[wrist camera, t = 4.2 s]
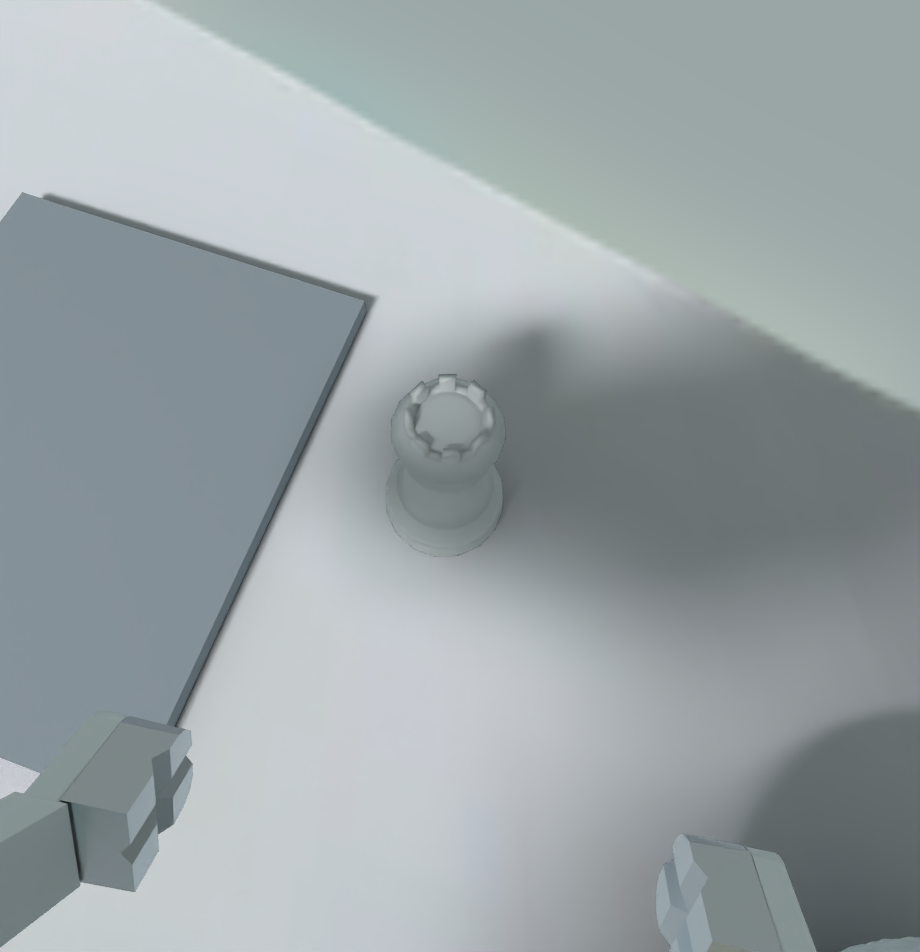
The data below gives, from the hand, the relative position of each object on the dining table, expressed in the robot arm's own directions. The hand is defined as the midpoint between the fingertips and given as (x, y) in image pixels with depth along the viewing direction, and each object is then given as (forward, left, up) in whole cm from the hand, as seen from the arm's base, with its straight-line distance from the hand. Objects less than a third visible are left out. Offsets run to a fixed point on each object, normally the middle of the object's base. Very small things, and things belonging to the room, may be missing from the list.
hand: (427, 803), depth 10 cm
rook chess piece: (+8, +2, -12) cm, 15 cm away
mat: (+5, +16, -12) cm, 21 cm away
